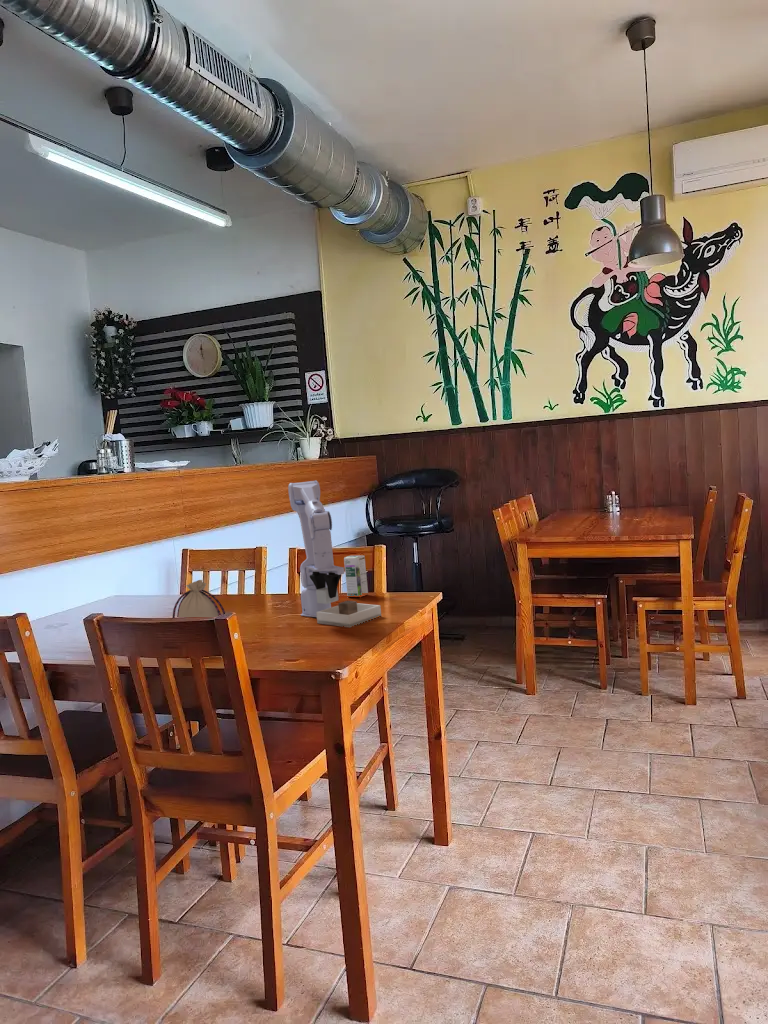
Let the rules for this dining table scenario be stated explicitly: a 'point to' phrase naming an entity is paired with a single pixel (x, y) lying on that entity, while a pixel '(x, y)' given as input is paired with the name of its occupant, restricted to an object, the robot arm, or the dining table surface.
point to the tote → (334, 618)
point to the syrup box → (355, 575)
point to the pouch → (197, 602)
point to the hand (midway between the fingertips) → (327, 596)
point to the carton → (325, 596)
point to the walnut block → (347, 607)
